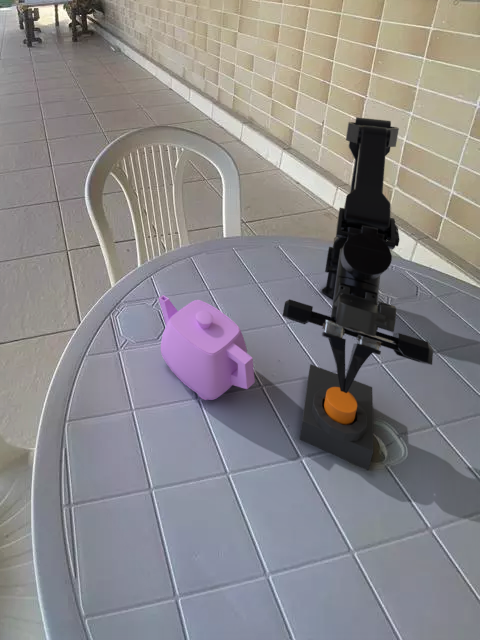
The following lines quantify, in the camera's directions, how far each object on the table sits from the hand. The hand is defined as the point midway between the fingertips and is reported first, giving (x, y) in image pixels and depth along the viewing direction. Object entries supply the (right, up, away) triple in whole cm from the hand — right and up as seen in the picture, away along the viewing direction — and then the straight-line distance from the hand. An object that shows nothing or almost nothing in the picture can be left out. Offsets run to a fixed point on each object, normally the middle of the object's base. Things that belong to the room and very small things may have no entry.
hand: (343, 392), depth 61 cm
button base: (+2, -9, +6) cm, 11 cm away
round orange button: (+1, -4, +2) cm, 5 cm away
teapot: (-17, -6, +16) cm, 24 cm away
